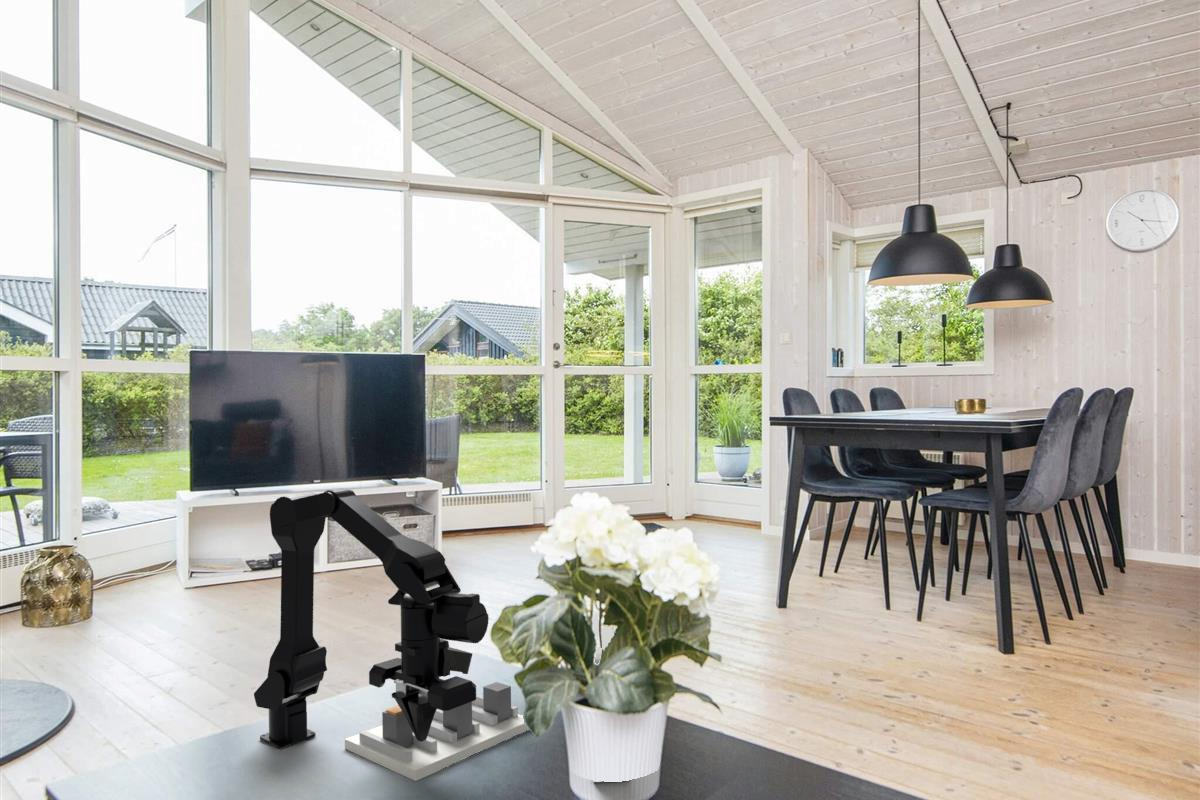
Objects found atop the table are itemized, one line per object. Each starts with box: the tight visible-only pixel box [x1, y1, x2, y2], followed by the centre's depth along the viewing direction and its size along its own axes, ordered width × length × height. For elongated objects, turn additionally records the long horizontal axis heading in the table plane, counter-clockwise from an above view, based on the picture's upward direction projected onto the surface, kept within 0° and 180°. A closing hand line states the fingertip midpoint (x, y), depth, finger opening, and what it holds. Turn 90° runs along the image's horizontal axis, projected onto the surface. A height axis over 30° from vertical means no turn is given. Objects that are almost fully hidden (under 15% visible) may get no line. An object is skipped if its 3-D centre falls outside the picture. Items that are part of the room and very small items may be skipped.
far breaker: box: [482, 681, 512, 722], centre depth 135 cm, size 4×3×5 cm
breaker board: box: [344, 693, 530, 782], centre depth 131 cm, size 18×24×3 cm
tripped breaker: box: [381, 704, 413, 747], centre depth 124 cm, size 4×3×5 cm
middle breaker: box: [443, 702, 472, 739], centre depth 128 cm, size 4×3×5 cm
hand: (421, 740), depth 121 cm, fingers closed
